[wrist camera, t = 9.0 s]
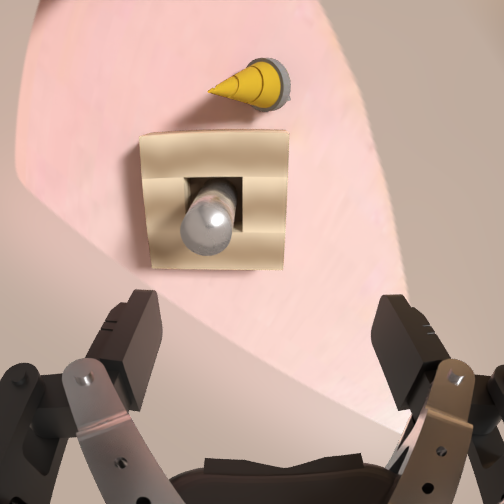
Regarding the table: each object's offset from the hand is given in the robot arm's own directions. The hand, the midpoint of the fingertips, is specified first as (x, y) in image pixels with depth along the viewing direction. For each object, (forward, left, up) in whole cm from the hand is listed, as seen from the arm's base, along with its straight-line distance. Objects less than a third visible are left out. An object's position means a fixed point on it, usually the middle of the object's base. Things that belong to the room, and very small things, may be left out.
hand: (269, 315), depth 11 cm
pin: (+3, -4, -24) cm, 24 cm away
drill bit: (-8, 0, -25) cm, 26 cm away
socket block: (+3, -4, -25) cm, 25 cm away
